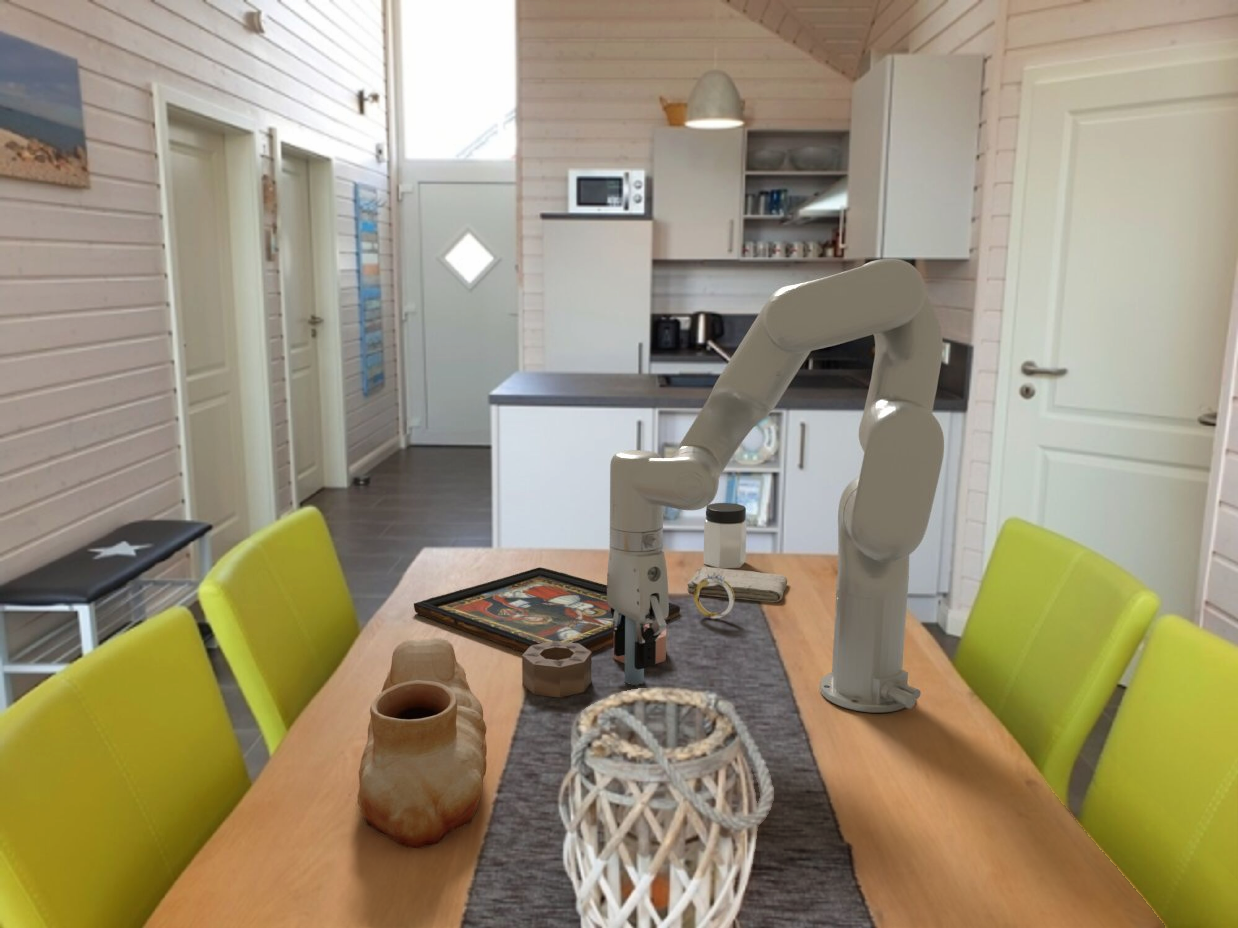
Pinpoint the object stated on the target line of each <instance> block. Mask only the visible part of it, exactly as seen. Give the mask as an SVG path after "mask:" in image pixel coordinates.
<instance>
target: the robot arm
mask: <svg viewBox="0 0 1238 928" xmlns="http://www.w3.org/2000/svg"><path fill="white" fill-rule="evenodd" d="M926 292H927V291H926V283H925V281H924V279H923V276H922V274H921V273H920V271H919V270H918V269H917V268H916V266H914V265H912V264H911V263H910V262H907V261H906V260H903V259H899V258H884V259H877V260H872V261H869V262H867V263H865V264H863V265H862V266H858V267H855V268H851V269H848V270H845V271H842V272H838V273H836V274H835V273H834V274H831V275H828V276H824V277H822V278H818V279H814V280H810V281H809V280H808V281H805V282H801V283H796V284H789V285H785V286H782V287H780V288H778V289H777V290H776V291H775V292H773V294H771V295H770V296H769V297H768V299H767V301H766V303H765V304H764V305H763V307H762V309H761V310H760V312H759V313H758V314H757V316H756V318H755V320H754V322H753V323H752V324H751V326H750V328H749V329H748V330H747V333H746V334H745V336H744V337H743V338H742V340H741V342H740V344H739V345H738V347H737V348H736V350H735V352H734V353H733V355H732V356H731V358H730V360H729V361H728V363H727V364H726V365H725V367H724V369H723V371H722V372H721V374H720V375H719V377H718V378H717V380H716V382H715V384H714V385H713V388H712V390H711V392H710V394H709V397H708V398H707V400H706V402H705V403H704V405H703V406H702V408H701V410H700V411H699V413H698V414H697V416H696V418H695V419H694V421H693V423H692V424H691V425H690V427H689V429H688V431H687V432H686V434H685V435H684V436H683V439H682V440H681V441H680V443H679V444H678V446H677V448H676V449H675V451H674V452H673V454H672V455H671V457H670V458H668V457H667V458H663V457H662V456H661V455H660V454H659V453H657V452H655V451H650V450H638V449H637V450H636V449H635V450H634V449H633V450H632V449H631V450H623V451H619V452H616V453H615V454H614V455H613V456H612V457H611V460H610V465H609V466H610V468H609V469H610V472H609V554H608V562H607V575H606V585H607V597H606V600H607V603H608V605H609V607H610V609H611V611H610V612H611V614H612V616H613V623H612V624H613V627H614V629H615V630H614V643H613V655H614V654H615V655H616V656H622V655H625V616H626V617H628V618H630V619H632V620H633V621H635V623H636V631H637V639H638V642H635V668H636V669H638V670H639V669H644V670H645V669H647V668H652V667H655V665H656V664H655V659H656V641H657V640H658V636H659V635H660V634H661V633H662V632H663V631H664V630H665V629H666V628H668V627H667V626H668V625H667V622H666V621H665V619H666V618H667V617H668V612H669V603H670V602H669V600H670V599H669V581H668V579H669V578H668V567H667V563H666V562H667V559H666V556H665V552H664V549H663V546H664V545H663V544H664V543H663V542H664V540H663V539H664V507H667V508H671V509H677V510H681V511H699V510H702V509H704V508H706V507H707V506H708V505H710V504H712V503H713V501H714V500H715V498H716V496H717V494H718V490H719V484H720V482H719V481H720V477H721V475H722V474H723V472H724V471H725V469H726V467H727V465H728V464H729V463H730V461H731V459H732V458H733V456H734V454H735V453H736V451H737V450H738V448H740V446H741V444H742V443H743V442H744V440H745V439H746V438H747V436H748V435H749V433H751V431H752V430H753V429H754V428H755V427H756V426H757V425H759V424H760V423H761V422H763V420H765V419H766V418H767V417H768V416H769V415H770V414H771V413H772V411H773V410H774V409H775V408H776V406H777V405H778V403H779V402H780V400H781V398H782V396H783V395H784V393H785V392H786V390H787V389H788V387H789V386H790V384H791V382H792V381H793V379H794V378H795V376H796V374H797V373H798V371H799V370H800V368H801V367H802V365H803V364H804V362H805V361H806V360H807V358H808V356H809V355H810V353H811V352H812V351H816V350H820V349H825V348H828V347H833V346H837V345H840V344H844V343H847V342H848V343H849V342H851V341H855V340H858V339H861V338H865V337H869V336H872V335H873V336H874V337H873V338H874V344H875V346H874V349H875V350H874V358H873V365H872V372H871V379H870V382H869V386H868V387H869V388H868V391H867V396H866V400H865V404H864V409H863V412H862V417H861V420H860V424H859V427H858V440H859V445H860V447H861V449H862V451H863V458H862V462H861V468H860V471H859V472H860V473H859V476H856V477H855V478H854V479H853V480H851V481H850V482H849V483H848V484H847V485H846V487H845V488H844V490H843V491H842V494H841V496H840V499H839V504H838V512H837V513H838V514H837V528H838V529H837V531H838V533H837V535H838V537H837V538H838V541H837V543H838V545H837V548H838V549H837V550H838V552H837V576H836V577H837V578H836V593H835V613H834V614H835V615H834V628H833V629H834V631H833V632H834V633H833V649H832V668H831V672H829V673H828V674H826V675H824V676H823V677H821V679H820V682H819V691H820V693H821V695H822V696H823V697H824V698H825V699H826V700H828V701H829V702H831V703H832V704H834V705H837V706H839V707H842V708H845V709H847V710H852V711H856V712H857V711H858V712H863V713H873V714H874V713H876V714H877V713H878V714H879V713H880V714H881V713H882V714H884V713H891V712H897V711H900V710H903V709H905V708H907V709H909V710H910V709H912V708H913V707H914V706H915V704H916V701H917V700H918V699H919V698H920V696H921V690H920V689H918V688H916V687H914V686H911V685H909V684H908V678H909V672H908V671H907V670H904V669H903V662H904V647H905V635H906V620H907V619H906V618H907V606H908V594H909V593H908V592H909V579H910V556H911V554H912V553H914V551H915V550H917V548H918V547H919V546H920V545H921V543H922V541H923V539H924V537H925V535H926V532H927V528H928V525H929V521H930V518H931V512H932V509H933V504H934V500H935V496H936V492H937V488H938V483H939V479H940V475H941V470H942V464H943V460H944V453H945V437H944V433H943V429H942V426H941V424H940V422H939V421H938V419H937V418H936V417H935V415H934V414H933V411H934V404H935V399H936V394H937V390H938V385H939V384H938V383H939V376H940V371H941V366H942V359H943V351H944V350H943V348H944V347H943V346H944V345H943V342H944V341H943V333H942V332H943V331H942V327H941V322H940V319H939V317H938V314H937V312H936V309H935V307H934V305H933V303H932V302H931V300H930V298H929V296H928V295H927V294H926ZM646 615H649V619H645V616H646ZM645 624H649V627H650V628H647V630H646V631H645V632H644V627H643V625H645ZM616 628H617V629H616ZM666 630H667V629H666Z"/></svg>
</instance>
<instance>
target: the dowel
mask: <svg viewBox="0 0 1238 928" xmlns="http://www.w3.org/2000/svg"><path fill="white" fill-rule="evenodd" d="M643 627H644V632H645V625H643ZM635 642H638V639H637V631H636V623H635V621H633V620H632V619H630V618H628V617H626V616H625V664H624V683H625V682H626V683H630V684H634V685H635V686H640V685H639V684H641V685H643V684H644V682H645V668H644V669H639V670H638V669H636V668H635ZM626 683H625V684H626Z"/></svg>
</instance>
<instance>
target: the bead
mask: <svg viewBox="0 0 1238 928" xmlns="http://www.w3.org/2000/svg"><path fill="white" fill-rule="evenodd" d="M521 656H522V657H521V661H522V662H521V664H522V665H521V670H522V671H521V673H522V674H521V675H522V677H521V678H522V686H523V687H524V688H525V689H527V690H528V691H529V692H530V693H531V694H533V695H535V696H543V697H552V698H558V699H559V698H560V699H561V698H564V697H568V696H573V695H578V694H580V693H585V692H586V690H587V688H588V687H589V686H590V684H591V683H592V652H591V651H589V650H588V649H586V648H585V647H583V646H582V645H580V644H579V643H569V642H559V641H552V642H547V643H542V644H537V645H532V646H530V647H529V648H528V649H527V651H526V652H525V653H524V652H523V654H522V655H521Z"/></svg>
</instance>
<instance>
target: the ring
mask: <svg viewBox="0 0 1238 928" xmlns="http://www.w3.org/2000/svg"><path fill="white" fill-rule="evenodd" d="M719 575H720V574H718V575H716V573H715V572H714V573H713V575H712V576H709V574H707V577H706V578H704V579H703V580H702V581H700V583H699V584H698V586H697V587H696V588H695V590H694V593H693V601H694V604H695V606H696V608H697V610H698V611H699V612H700V613H701V614H702V615H704V616H706V617H708V618H710V619H711V620H715V619H721V618H724V617H725V616H727V615H728V614H729V613H730V611H731V610H732V609H733V607H734V605H735V599H736V598H735V596H734V591H733V589H732V587H731V586H730V585H729V584H728V583H727V582H726V581H724V580H725V577H723V579H722V575H721V576H719ZM709 583H712V584H715V583H718V584H720V585H722V586H723V587H724V588H725V589H726V590H727V593H728V596H729V598H728V606H727V608H726V609H725V610H724V611H722V612H719V613H717V612H716V611H708V610H707V609H706V608H705V607H704V606H703V605H702V602H701V600H700V594H699V591H700V589H701V588H702V587H704V586H706V585H709Z"/></svg>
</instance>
